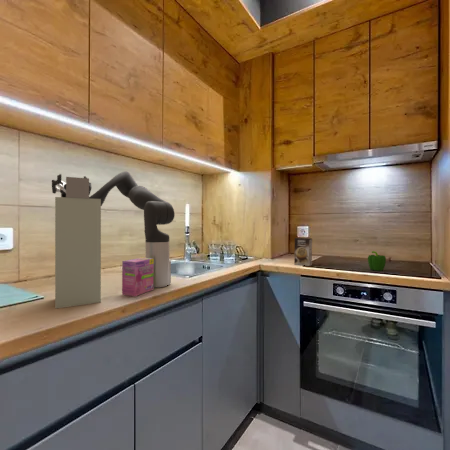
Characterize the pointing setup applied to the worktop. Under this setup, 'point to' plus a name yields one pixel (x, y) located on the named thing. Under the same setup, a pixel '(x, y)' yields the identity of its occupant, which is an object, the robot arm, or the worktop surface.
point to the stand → (77, 251)
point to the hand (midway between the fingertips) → (72, 176)
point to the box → (137, 276)
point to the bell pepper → (376, 261)
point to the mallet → (77, 187)
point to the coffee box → (303, 251)
